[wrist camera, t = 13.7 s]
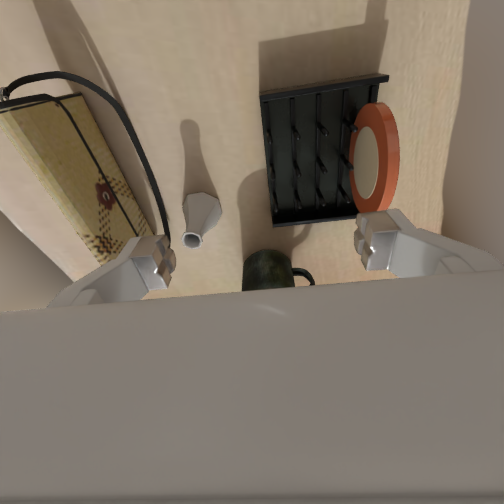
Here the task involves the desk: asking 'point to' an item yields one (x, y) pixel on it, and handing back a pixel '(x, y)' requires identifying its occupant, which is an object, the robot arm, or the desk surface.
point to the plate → (374, 158)
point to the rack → (313, 147)
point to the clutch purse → (78, 164)
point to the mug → (270, 272)
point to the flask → (199, 217)
